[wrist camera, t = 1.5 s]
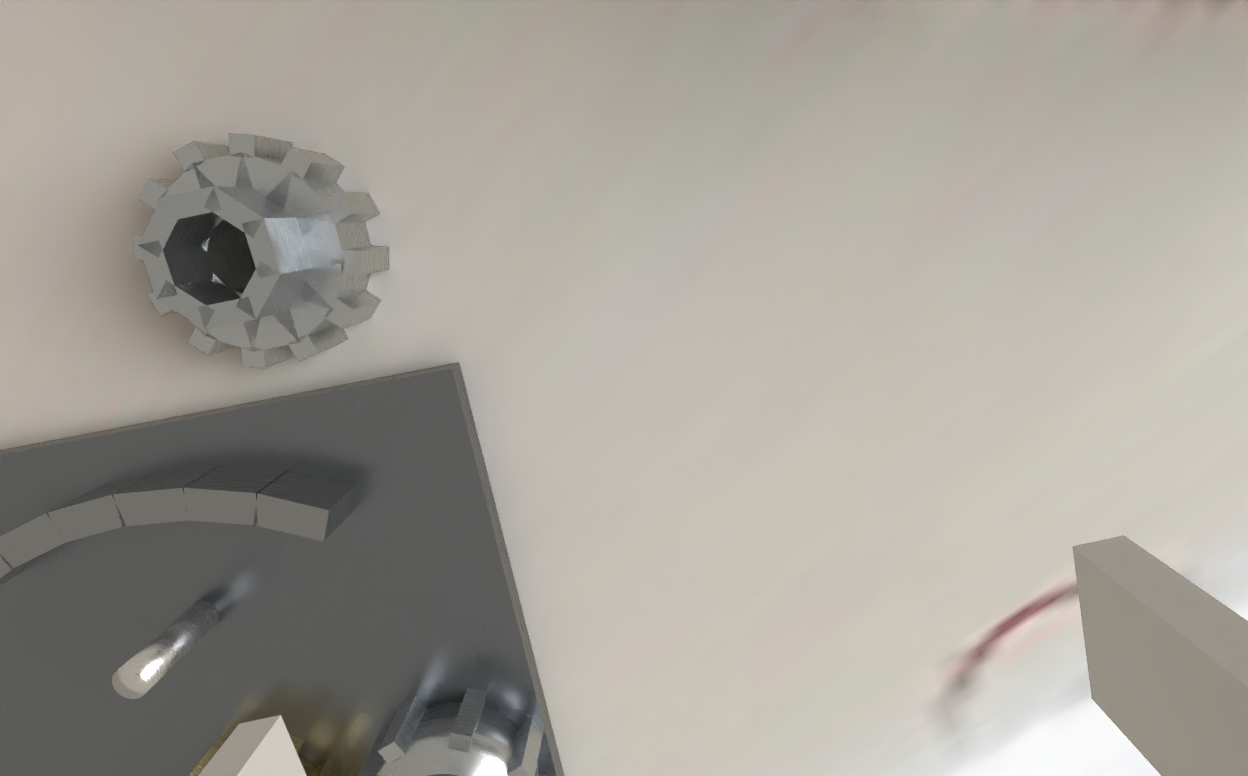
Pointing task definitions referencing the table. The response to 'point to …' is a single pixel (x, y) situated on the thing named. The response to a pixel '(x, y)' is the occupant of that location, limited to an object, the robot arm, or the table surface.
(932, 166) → the table surface
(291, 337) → the gear
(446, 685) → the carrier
